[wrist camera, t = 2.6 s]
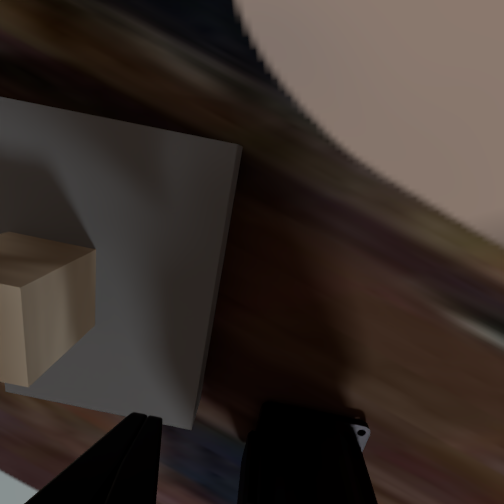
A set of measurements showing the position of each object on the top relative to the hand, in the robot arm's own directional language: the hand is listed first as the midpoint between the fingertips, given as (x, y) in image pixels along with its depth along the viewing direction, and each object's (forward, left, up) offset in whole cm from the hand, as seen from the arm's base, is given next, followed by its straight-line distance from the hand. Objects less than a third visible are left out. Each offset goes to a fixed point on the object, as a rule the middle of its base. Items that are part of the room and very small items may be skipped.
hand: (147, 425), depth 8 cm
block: (+7, 0, -6) cm, 9 cm away
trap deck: (+10, 0, -8) cm, 12 cm away
